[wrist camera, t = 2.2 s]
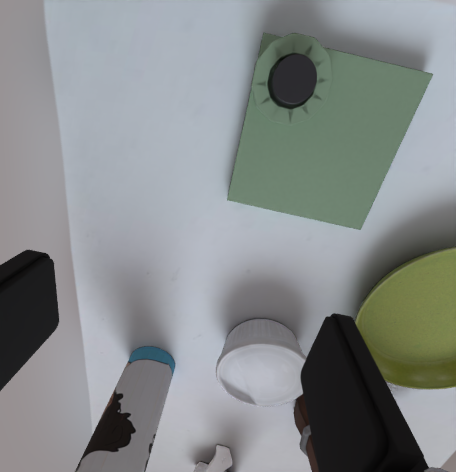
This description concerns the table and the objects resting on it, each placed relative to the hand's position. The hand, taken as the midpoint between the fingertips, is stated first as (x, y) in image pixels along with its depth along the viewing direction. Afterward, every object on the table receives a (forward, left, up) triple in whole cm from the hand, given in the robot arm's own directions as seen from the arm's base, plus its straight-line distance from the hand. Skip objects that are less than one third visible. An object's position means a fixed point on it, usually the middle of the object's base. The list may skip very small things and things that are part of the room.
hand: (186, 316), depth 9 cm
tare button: (-5, +9, -17) cm, 20 cm away
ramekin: (+21, -8, -20) cm, 30 cm away
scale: (+1, +9, -20) cm, 22 cm away
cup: (+17, -24, -20) cm, 36 cm away
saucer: (+26, +13, -20) cm, 36 cm away
